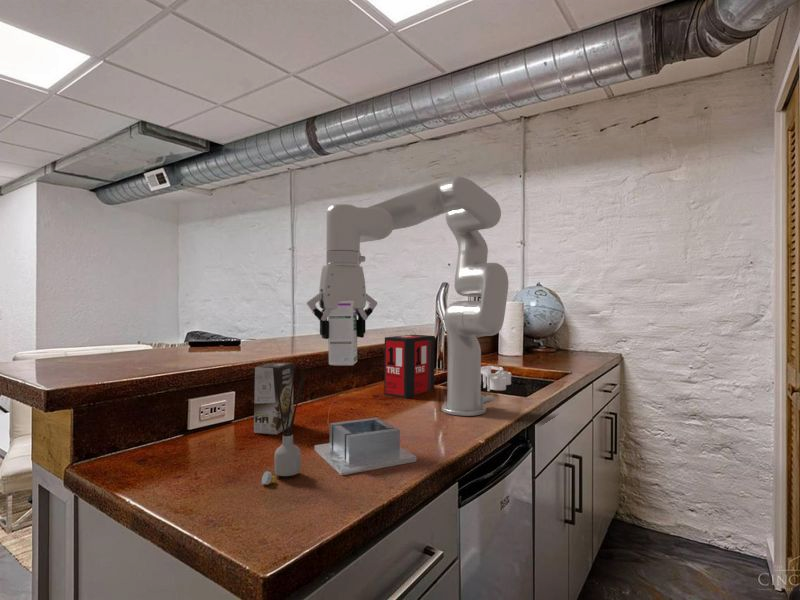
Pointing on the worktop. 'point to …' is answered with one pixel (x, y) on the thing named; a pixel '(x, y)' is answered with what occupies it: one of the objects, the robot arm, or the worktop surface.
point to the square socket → (363, 446)
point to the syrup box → (343, 334)
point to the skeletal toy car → (495, 378)
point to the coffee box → (272, 397)
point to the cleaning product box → (408, 365)
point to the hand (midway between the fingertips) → (342, 337)
